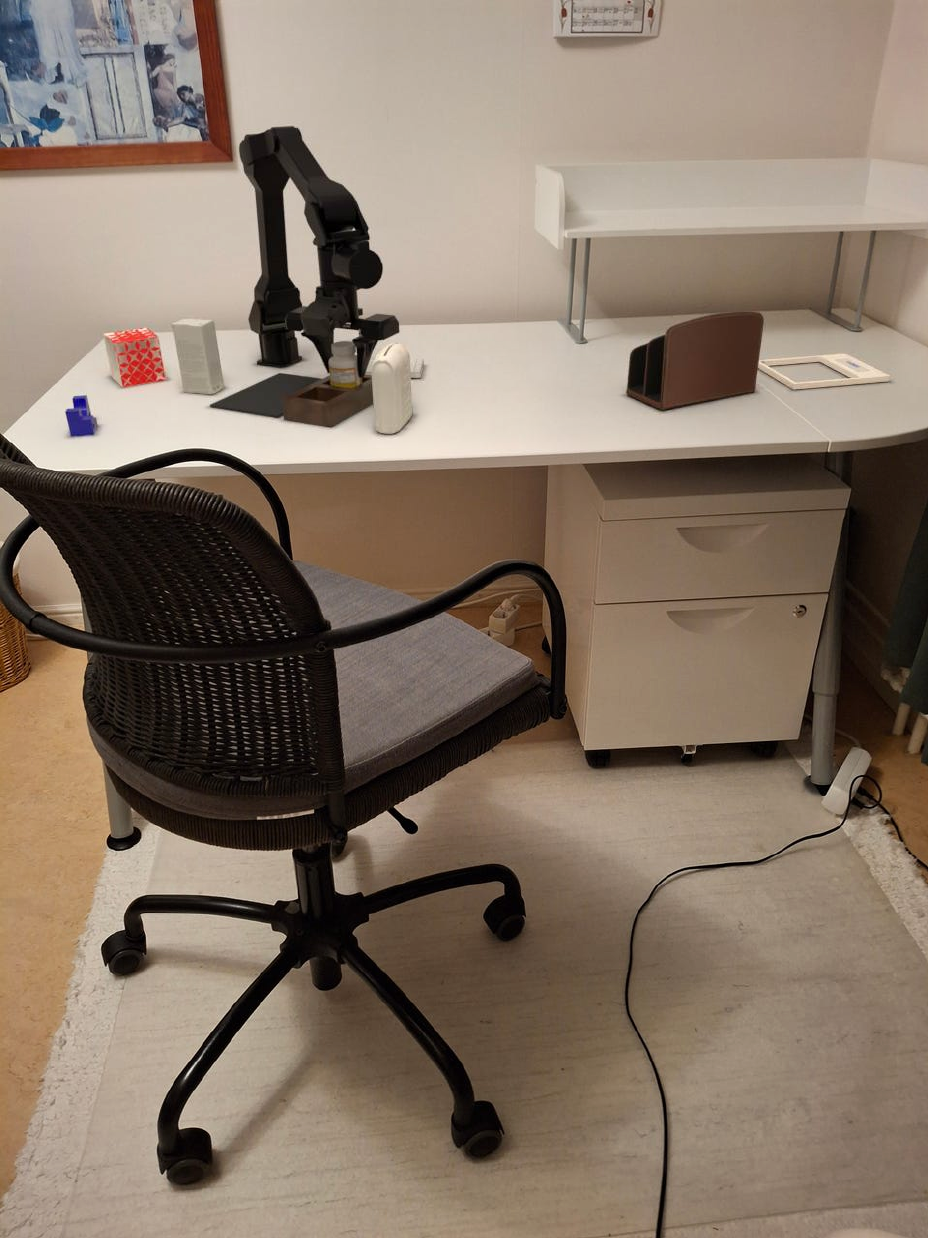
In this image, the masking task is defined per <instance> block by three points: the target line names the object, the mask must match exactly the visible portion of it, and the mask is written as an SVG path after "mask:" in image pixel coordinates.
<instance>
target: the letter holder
mask: <svg viewBox="0 0 928 1238" xmlns="http://www.w3.org/2000/svg"><path fill="white" fill-rule="evenodd" d="M764 322H765V319H764V316H763V314H762V313H760V312H759V311H758V312H757V311H734V312H732V311H731V312H721V313H714V314H713V313H712V314H708V315H704V316H700V317H696V318H693V319H689V320H685V321H683V322H679V323H676V324H674V325H671V326H670V327H668V328H667V329H666V332H665V334H662V335H660V336H659V335H658V336H657V337H654V338H652V339H650V341H648V342H647V343H644V344H640V345H639V346H636V347H635V348H633V349H632V350H631V351H630V353H629V361H628V372H627V373H628V374H627V382H626V383H627V385H626V388H625V389H626V391H625V393H626V395H627V396H629V397H631V398H634V399H636V400H638V401H640V402H642V403H644V404H646V405H648V406H651V407H653V408H655V409H657V410H659V411H665V410H670V409H674V408H680V407H685V406H689V405H695V404H700V403H704V402H710V401H716V400H721V399H726V398H731V397H736V396H742V395H747V394H753V393H755V391H756V388H757V387H756V386H757V377H758V369H759V368H758V363H759V360H760V355H761V347H762V340H763V333H764Z"/></svg>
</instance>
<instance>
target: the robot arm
mask: <svg viewBox="0 0 928 1238" xmlns="http://www.w3.org/2000/svg"><path fill="white" fill-rule="evenodd" d="M238 154H239V158H240V162H241V163H242V168H243V173H244V174H245V176H246V177H247V179H248V180H249V182H250V184H251V185H252V187H253V188H254V194H255V205H256V206H255V207H256V218H257V219H256V221H257V230H258V244H259V255H260V269H261V274H260V277H259V278H258V281H257V282H256V284H255V286H254V289H253V300H254V301H252V305H251V308H250V312H249V314H248V319H247V320H248V324H249V328H250V331H252V332H253V333H255V334H257V335H258V341H259V343H258V344H259V350H260V359H258V360H256V364H257V365H261V366H269V367H270V366H271V367H277V368H286V367H288V366H291V365H293V364H295V363H297V362H299V361H301V360H303V356H302V355H300V353H299V345H298V338H297V336H296V333H295V332H300V335H301V337H302V338H303V337H304V338H306V339H308V340H309V341H311V343H312V344H313V345H314V348H315V349H316V351H317V353H318V355H319V358H320V360H321V362H322V364H323V367H324V368H325V370H326V372H327V374H329V375H330V373H329V359H330V358H331V357H332V356H333V354H332V348H331V345H332V344H333V343H335V330H336V329H341V330H349V331H357V332H358V336H357V337H355V338H353V339H351V341H352V342H353V343H354V345H355V346H356V355H357V366H358V374H359V377H360V378H362V377H364V375H365V373H366V370H367V367H368V364H369V361H370V359H372V355H373V353H374V350H375V349H376V346H377V344H378V342H380V341H385V340H388V339H389V338H392V337H393V336H396V335H397V334H400V321H399V320H398V318H397V317H396V315H394V314H384V313H375V314H372V315H370V316H368V317H366V318H360V317H361V316H363V315H364V313H363V312H364V309H363V308H362V307H359V300H358V291H359V290H361V289H362V290H369V289H372V288H374V287H375V286H376V285H378V283H379V282H380V281H381V279H382V275H383V272H384V265H383V263H382V260H381V258H380V256H379V255H378V254H377V253H376V252H375V251H374V250H372V249H370V239H371V237H370V234H369V229H370V228H369V225H368V223H367V221H366V219H365V217H364V215H363V214H362V213H363V212H362V211H361V209H360V206H359V204H358V201H357V200H356V199H355V196H354V195H353V194H352V193H351V192H350V191H349V190H348V189H347V188H346V187H345V186H344V185H343V184H342V183H340V182H337V181H335V180H333V179H331V178H329V177H328V175H327V174H326V172H325V171H324V169H323V168H322V167H321V165H320V164H319V162H318V160H317V159H316V158H315V156H314V154H313V153H312V151H311V150H310V149H309V147H308V146H307V144H306V143H305V141H304V139H303V135H302V132H301V130H300V128H299V127H295V126H294V125H287V126H271V128H268V129H266V130H265V131H263V132H259V133H250V134H249V133H248V134H247V133H246V134H245V136H244V137H243V139H242V140H241V142H239V145H238ZM289 180H291V181H292V184H294V186H295V187H296V189H297V190H298V192H299V193H300V195H301V197H302V199H303V200H304V202H305V203H304V209H303V214H304V217H305V220H306V223H307V225H308V227H309V228H310V230H311V232H312V234H313V235H314V238H313V240H312V244H313V245H314V246H316V253H317V261H318V262H317V263H318V272H319V273H318V274H319V285H318V286H316V287H315V297H314V298H315V299H314V300H313V301H312V302H310V303H309V304H308V305H307V306H306V305H303V302H302V301H301V300H302V299H301V291H300V289H299V288H298V287H297V286H296V285H295V284H294V282H293V280H292V279H291V277H290V275H289V274H290V273H289V262H288V259H289V258H288V245H287V230H286V215H285V203H284V202H285V199H284V191H285V188H286V187H287V184H288V182H289Z"/></svg>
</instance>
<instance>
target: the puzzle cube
mask: <svg viewBox="0 0 928 1238" xmlns="http://www.w3.org/2000/svg"><path fill="white" fill-rule="evenodd" d="M102 334H103V340H104V345H105V349H106V353H107V355H106V356H107V359H108V363H109V369H110V374H111V377H112V378H113V379H114V381H115V382H117V384H119V385H120V386H121V388H128V387H129V388H130V387H134V386H140V385H145V384H152V383H159V382H163V381H166V380H167V377H166V371H165V366H164V360H163V355H162V349H161V343H160V338H159V337H160V336H158V335H157V334H156V333H155V332H153V331H152V330H150V329H149V328H148V327H141V328H134V329H127V330H121V331H114V332H107V333H102Z"/></svg>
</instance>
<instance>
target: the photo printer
mask: <svg viewBox="0 0 928 1238" xmlns="http://www.w3.org/2000/svg"><path fill="white" fill-rule="evenodd" d="M373 359H374V361H373V364H372V387H373V402H374V403H373V415H374V416H373V417H374V427H375V431H376V432H378V433H380V434H388V435H391V434H395V433H397V432H399V431H400V430H402V428H403V427H404V426H405V425H406V424H407V423H408V421H410V419H411V418H412V415H413V393H412V392H413V391H412V378H411V371H410V359H411V355H410V352H409V350H408V348H407V347H406V346H405V345H404V344H402V343H393V342H392V343H388V344H386V345H384V346H383V347H382V348H381V349H380V350H379V351H378V352H377V354H376V356H375V357H374V358H373Z"/></svg>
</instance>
